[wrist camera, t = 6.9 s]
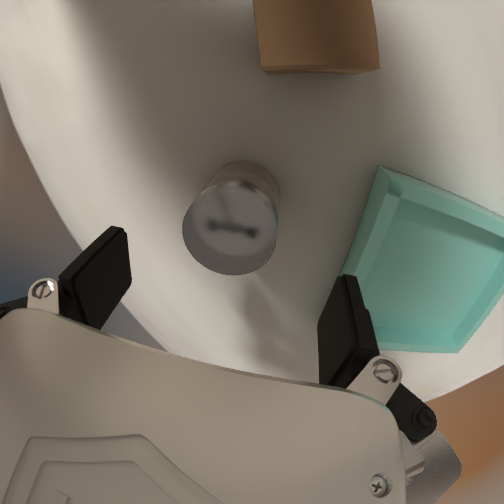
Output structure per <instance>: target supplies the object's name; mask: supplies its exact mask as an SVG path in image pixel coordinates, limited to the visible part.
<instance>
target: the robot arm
mask: <svg viewBox="0 0 504 504" xmlns="http://www.w3.org/2000/svg"><path fill="white" fill-rule="evenodd" d="M131 282H132V277H131V269H130V260H129V251H128V240H127V233H126V232H124V229H123V228H120V227H116V226H110V227H109V228H108V229H107V230H106V231H105V232H104V233H102V234H101V235H100V236H99V237H98V238H97V239H96V240H95V241H94V242H93V243H92V244H90V245H89V246H88V247H87V248H86V249H85V250H84V251H83V252H82V253H81V254H80V255H79V256H78V257H77V258H76V259H75V260H74V261H73V262H72V263H71V264H70V265H69V266H68V267H67V268H66V269H65V270H64V271H63V272H62V273H61V274H60V275H59V281H58V282H56V281H55V280H53V279H49V278H46V279H41V280H38V281H37V282H35V283H34V284H33V285H32V286H31V287H30V289H29V292H28V296H27V297H23V298H19V299H16V300H12V301H9V302H6V303H2V304H0V504H434V503H435V502H436V501H437V500H438V499H439V498H440V497H441V496H442V495H443V494H444V493H445V492H446V491H447V490H448V489H449V488H450V487H451V486H452V485H453V484H454V483H455V482H456V481H457V480H458V478H459V477H460V475H461V472H462V464H461V462H460V460H459V458H458V457H457V455H456V453H455V452H454V450H453V449H452V447H451V446H450V444H449V443H448V441H447V440H446V438H445V437H444V435H443V434H442V432H441V431H439V432H437V431H436V429H435V428H436V426H437V420H436V416H435V414H434V412H433V411H432V410H431V409H430V408H429V407H428V406H427V405H426V404H425V403H424V402H422V401H421V400H420V399H419V398H418V397H416V396H415V395H414V394H413V393H412V392H411V391H409V390H408V389H407V388H406V387H405V386H403V385H402V384H401V383H400V382H401V379H402V372H401V369H400V367H399V365H398V364H397V363H396V362H395V361H394V360H393V359H391V358H389V357H386V356H380V353H379V349H378V345H377V340H376V336H375V332H374V328H373V324H372V320H371V316H370V312H369V310H368V309H366V308H365V305H364V301H363V297H362V294H361V290H360V286H359V283H358V279H357V277H356V276H353V275H348V274H343V275H342V276H338V277H337V279H336V282H335V284H334V286H333V289H332V291H331V294H330V296H329V298H328V301H327V303H326V305H325V307H324V310H323V312H322V314H321V316H320V319H319V321H318V326H317V332H318V353H319V384H316V383H309V382H302V381H296V380H289V379H284V378H278V377H272V376H266V375H260V374H255V373H250V372H245V371H240V370H235V369H231V368H226V367H222V366H217V365H213V364H209V363H205V362H201V361H197V360H193V359H189V358H185V357H182V356H178V355H174V354H171V353H167V352H164V351H160V350H157V349H154V348H151V347H147V346H144V345H141V344H138V343H135V342H132V341H129V340H126V339H123V338H120V337H117V336H115V335H112V334H109V333H106V332H103V331H101V330H100V329H101V328H102V326H103V325H104V323H105V322H106V320H107V319H108V317H109V316H110V314H111V313H112V311H113V310H114V309H115V307H116V306H117V304H118V303H119V301H120V300H121V298H122V297H123V296H124V294H125V293H126V291H127V290H128V289H129V287H130V285H131Z"/></svg>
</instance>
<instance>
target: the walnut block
mask: <svg viewBox="0 0 504 504" xmlns="http://www.w3.org/2000/svg"><path fill="white" fill-rule="evenodd" d="M253 5H254V13H255V22H256V30H257V38H258V47H259V56H260V66H261V68H262V69H263V70H264V71H265V72H266V73H267V74H280V73H341V74H357V73H361V72H366V71H371V70H376V69H380V67H379V55H378V45H377V36H376V28H375V21H374V14H373V8H372V2H371V0H253Z"/></svg>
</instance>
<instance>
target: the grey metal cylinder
mask: <svg viewBox="0 0 504 504" xmlns="http://www.w3.org/2000/svg"><path fill="white" fill-rule="evenodd" d="M279 199H280V192H279V187H278V184H277V182H276V180H275V178H274V176H273V175H272V174H271V173H270V172H269V171H268V170H267V169H266V168H264V167H263V166H261V165H259V164H256V163H253V162H249V161H238V162H233V163H230V164H228V165H226V166H224V167H223V168H221V169H220V170H219V171H218V172H217V173H216V174H215V176H214V177H213V178H212V179H211V181H210V182H209V183H208V184H207V186H206V187H205V188H204V189H203V191H202V192H201V193H200V194H199V196H198V197H197V198H196V200H195V201H194V202H193V204H192V205H191V206H190V207H189V209H188V211H187V212H186V214H185V217H184V220H183V225H182V234H183V239H184V242H185V245H186V247H187V249H188V250H189V252H190V253H191V255H192V256H193V257H194V258H195V259H196V260H197V261H198V262H199V263H200V264H202V265H203V266H205V267H206V268H208V269H210V270H212V271H215V272H217V273H221V274H226V275H242V274H247V273H250V272H253V271H255V270H257V269H258V268H260V267H261V266H263V265H264V264H265V263H266V262H267V261H268V260H269V258H270V257H271V255H272V253H273V251H274V248H275V244H276V236H277V224H278V212H279Z"/></svg>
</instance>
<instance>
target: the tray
mask: <svg viewBox="0 0 504 504" xmlns="http://www.w3.org/2000/svg"><path fill="white" fill-rule="evenodd" d="M343 274H348V275H353V276H356V277H357V279H358V283H359V286H360V290H361V294H362V297H363V301H364V305H365V308H366V309H368V310H369V312H370V316H371V320H372V324H373V328H374V332H375V336H376V340H377V345H378V349H381V350H394V351H409V352H430V353H458V352H459V351H460V350H461V349H462V348H463V346H464V345H465V344H466V343H467V342H468V340H469V339H470V338H471V337H472V336H473V334H474V333H475V332H476V331H477V329H478V328H479V327H480V325H481V324H482V323H483V321H484V320H485V319H486V317H487V316H488V315H489V313H490V312H491V311H492V309H493V308H494V306H495V305H496V303H497V302H498V300H499V299H500V297H501V296H502V294H503V293H504V217H502V216H500V215H498V214H496V213H494V212H492V211H490V210H488V209H486V208H484V207H482V206H480V205H478V204H476V203H473V202H471V201H469V200H467V199H465V198H462V197H460V196H458V195H456V194H453V193H451V192H449V191H446V190H444V189H441V188H439V187H436V186H434V185H431V184H429V183H426V182H424V181H421V180H418V179H416V178H413V177H410V176H407V175H405V174H402V173H399V172H396V171H393V170H390V169H387V168H384V167H381V166H379V167H378V170H377V173H376V176H375V180H374V183H373V186H372V189H371V192H370V195H369V198H368V201H367V204H366V207H365V210H364V212H363V215H362V218H361V221H360V224H359V226H358V229H357V232H356V234H355V237H354V240H353V242H352V245H351V247H350V250H349V253H348V255H347V258H346V260H345V263H344V265H343V267H342V270H341V272H340V275H339V276H342V275H343Z"/></svg>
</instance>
